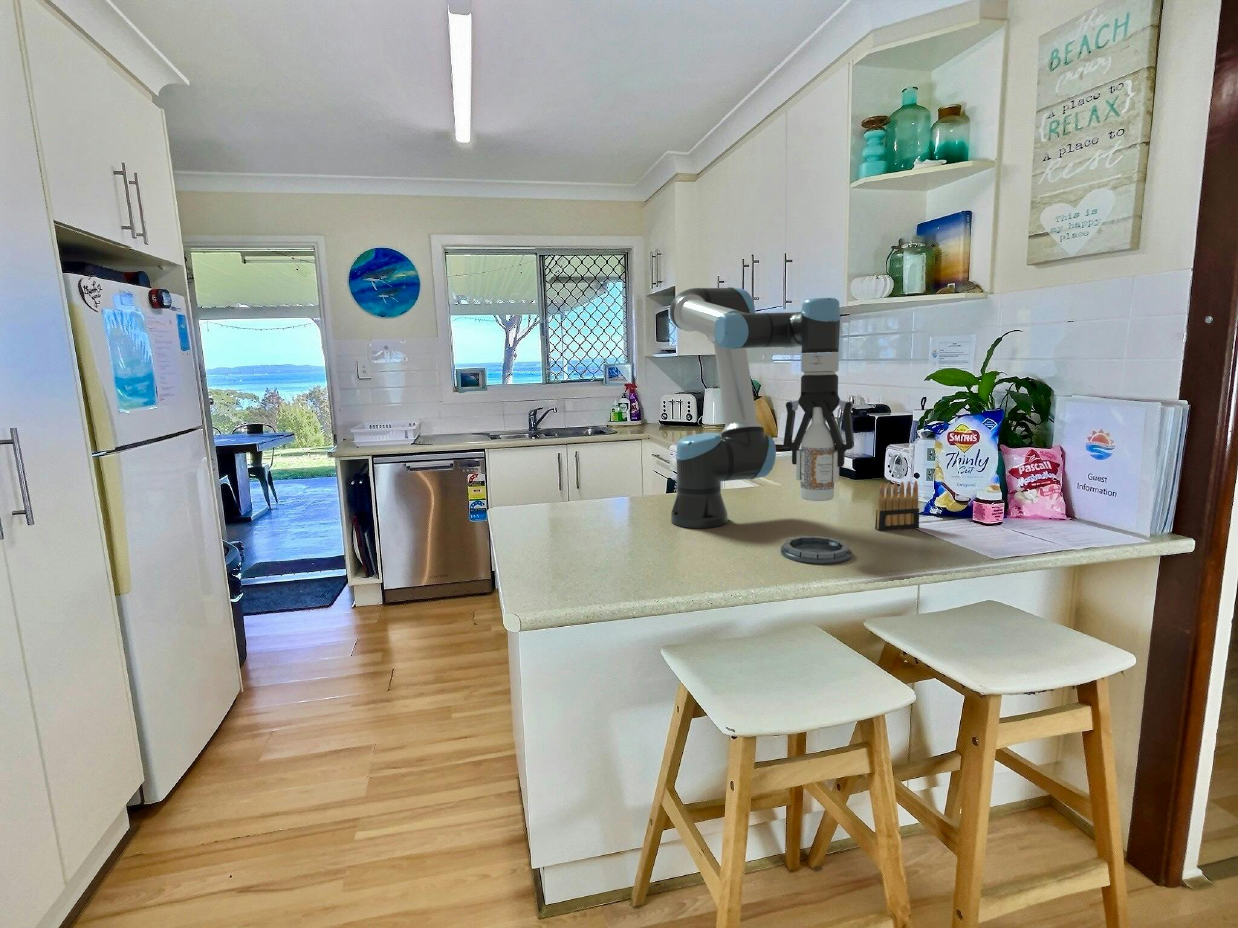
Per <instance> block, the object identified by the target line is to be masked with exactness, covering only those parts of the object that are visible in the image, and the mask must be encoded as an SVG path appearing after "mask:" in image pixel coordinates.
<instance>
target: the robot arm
mask: <svg viewBox="0 0 1238 928" xmlns="http://www.w3.org/2000/svg"><path fill="white" fill-rule="evenodd" d="M801 305H802V306H801V310H800V311H795V312H762V313H761V312H756V308H755V307H756V306H755V304H754V300H753V298H752V296H751V293H749V292H748V290H745V289H744V288H737V287H731V286H730V287H694V288H688V289H685V290H683V291H682V292H680V293H678V294H677V295H676V296H675V297H674V298H673V300H672V301H671V303H670V307H669V318H670V320H671V322H672V324H673V325H674V326H675V327H676V328H678V329H680V330H682V331H685V332H697V333H698V332H699V333H701V334H703V335H706V336H707V340H708V341H709V342H710V343H712V344H713V347H714V354H715V360H716V366H717V375H718V383H719V389H720V396H721V397H720V398H721V405H722V412H723V417H724V428H723V429H722V430H721V432H720V434H719V433H717V432H706V433H704V432H703V433H697V434H691V435H687V436H685V437H684V436H683V438H681V439H679V440H678V442H677V443H676V444H677V445H676V453H675V459H676V497H675V500H674V503H673V506H672V508H671V513H670V521H671V523H672V524H673V525H675V526H679V527H684V528H691V529H692V528H693V529H707V528H708V529H709V528H716V527H717V528H718V527H720V526H724V525H725V524H726V523H728V511H727V508H726V504H725V502H724V499H723V496H722V492H721V491H722V490H721V489H722V486H721V485H722V484H721V483H722V482H729V481H740V480H741V481H742V480H754V479H760V478H765V477H766V476H768V475H769V474H770V473H771V471H772V470H773V468H774V467H775V466H774V465H775V462H776V459H777V458H776V457H777V449H776V448H777V447H776V443H775V441H774V440H773V439H774V438H773V437H772V436H771V435H768V434H766V433H765V428H764V426H763V425H762V424H760V423H759V422H758V421H757V412H756V406H755V405H756V404H755V400H754V391H753V386H752V379H751V378H752V377H751V372H750V371H751V370H750V364H749V357H748V351H747V349H750V348H753V349H754V348H755V349H756V348H761V349H762V348H785V349H787V348H797V347H801V351H800V353H801V355H800V356H801V359H800V360H801V364H800V367H801V368H800V369H801V372H802V373H803V374H802V375H801V377H800V394H799V395H800V396H799V398H798V399H797V400H795V401H792V400H791V401H787V402H786V403H785V407H786V413H787V414H786V419H785V420H786V421H785V427H784V429H785V430H784V437H783V447H785V448H789V449H790V450H791V463H792V465H796V469H795V471H796V478H795V480H796V481H801V444H802V439H803V436H804V434H805V432H806V431H807V429H808V428H809V426H810V425H809V424H811V423H810V422H812V416H813V408H814V407H821V409H822V414H823V418H825V419H826V424H827V426H828V428H829V429H830V431H831V434H832V437H833V439H834V442H835V449H836V450H835V452H834V455H833V483H834V484H835V483H838V482H839V481H840V468H843V467H844V465H845V460H846V459H845V455H846V451H849V450H851V449H853V448H854V447H855V441H854V440H855V439H854V429H853V428H854V427H853V419H852V411H853V407H854V402H853V401H845V400H843V399H842V400H841V398H840V395H839V375H838V374H836V373H837V372H838V371H839V369H840V368H839V366H840V365H839V364H840V363H839V361H840V359H839V357H840V352H839V351H840V350H839V349H840V330H841V329H840V328H841V326H840V325H841V318H842V317H841V315H840V309H841V308H840V301H839V300H838V298H836V297H818V298H817V297H816V298H815V297H814V298H807V299H805V300H803V302H802V304H801ZM799 406H800V408H801V409H802V411H803V412H804V414H803V416H802V419H801V422H800V424H799V428H798V429H797V432H796V435H795V437H794V440H793V435H794V427H795V421H796V413H797V412H796V411H797V410H799V409H798V408H799ZM839 406H840V410H841V412H842V414H843V415H842V416H843V426H844V437H845V443H844V440H843V437H842V434H841V432H840V430H839V427H838V426H839V425H837V421H836V417H835V414H834V412H835V411H836V409H837V408H838V407H839Z"/></svg>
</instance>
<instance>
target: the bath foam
mask: <svg viewBox="0 0 1238 928" xmlns="http://www.w3.org/2000/svg"><path fill="white" fill-rule="evenodd" d="M800 449H801V480H800V498H801V499H803V500H805V501H811V502H826V501H831V500H833V499H834V497H835V494H834V493H835V483H833V455H834V452H835V451H836V445H835V442H834V439H833V437H832V434H831V431H830V428H829V426H828V424H827V421H826V419H825V418H823V414H822V409H821V407H814V408H813V416H812V419H811V423H810V425H808V427H807V430H806V432H805V434H804V436H803V439H802V442H801V445H800Z"/></svg>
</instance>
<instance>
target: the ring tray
mask: <svg viewBox="0 0 1238 928" xmlns="http://www.w3.org/2000/svg"><path fill="white" fill-rule="evenodd" d="M780 554H781V556H783V557H784V558H786V559H788V560H790V561H795V562H798V563H801V564H802V563H803V564H809V565H810V564H811V565H834V564H835V565H836V564H842V563H846V562H848V561H849V560H851V559H852V556H853V553H852V550H851V548H850V545H848V543H846V542H844V541H842V540H840V539H836V538H833V537H827V536H826V537H825V536H819V535H817V536H816V535H804V536H796V537H791V538H788V539H786V540H784V542H783V544H782V546H780Z"/></svg>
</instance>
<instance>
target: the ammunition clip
mask: <svg viewBox="0 0 1238 928" xmlns="http://www.w3.org/2000/svg"><path fill="white" fill-rule="evenodd" d="M911 485H912V484H911V481H907V484H906V487H905V484H904V481H901V482H900V485H899V486H898V483H897V482H896V481H894V483H893V487H892V485H891V483H890V481H889V482H887V485H886V487H885V486H884V482H881V483H880V486H879V490H878V491H879V492H878V499H877V509H876V514H875V515H876V516H875V526H874V529H875V530H877V531H878V532H885V531H897V530H898V531H901V530H915V529H919V528H920V508H919V499H920V498H919V486H918V485H919V484H918V481H917V480H915V481H914V483H913V485H912V486H913V487H912V486H911ZM898 487H899V489H898ZM885 488H886V489H885Z"/></svg>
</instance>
